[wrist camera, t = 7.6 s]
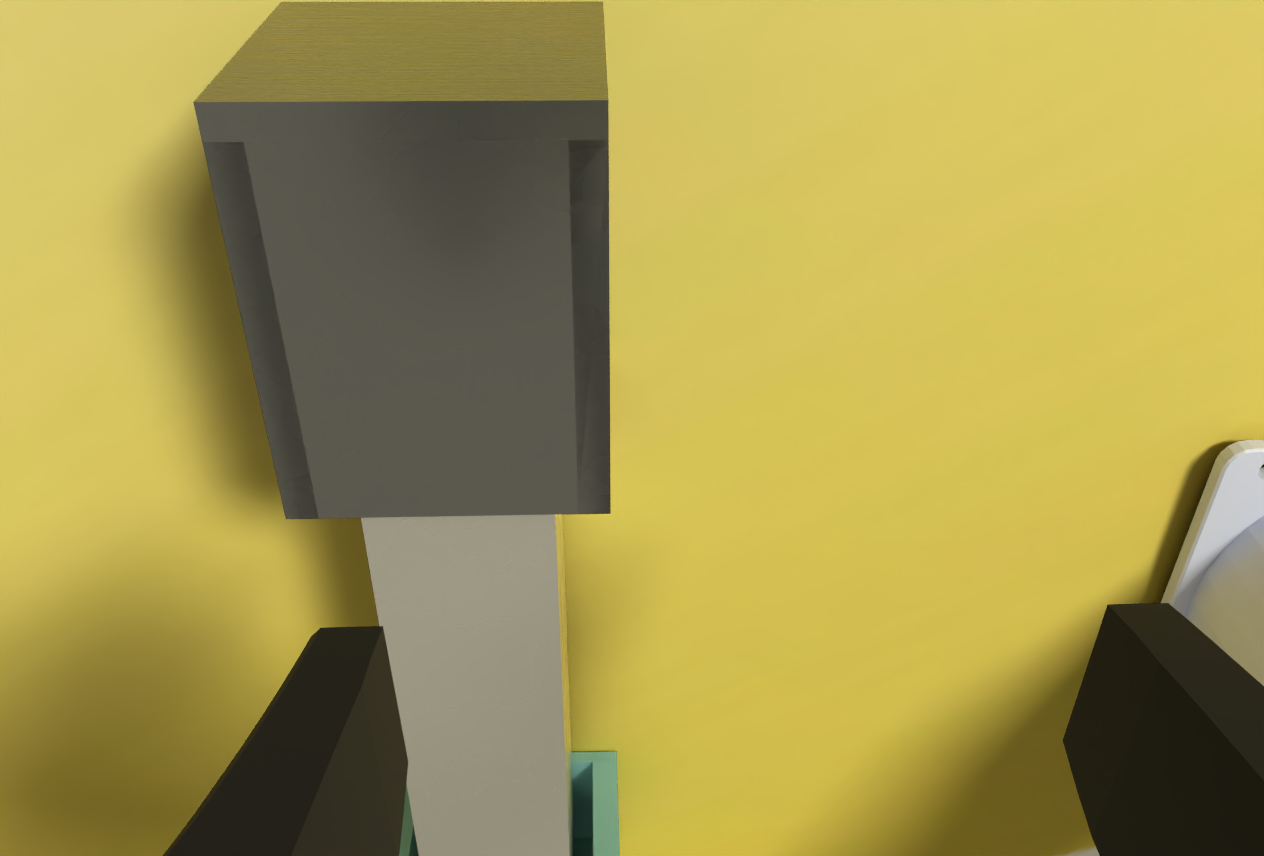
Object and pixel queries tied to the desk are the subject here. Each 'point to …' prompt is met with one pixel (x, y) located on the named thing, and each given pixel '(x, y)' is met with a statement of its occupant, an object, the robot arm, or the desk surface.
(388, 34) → the sleeve
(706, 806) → the desk surface
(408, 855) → the socket
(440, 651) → the long grey plank
